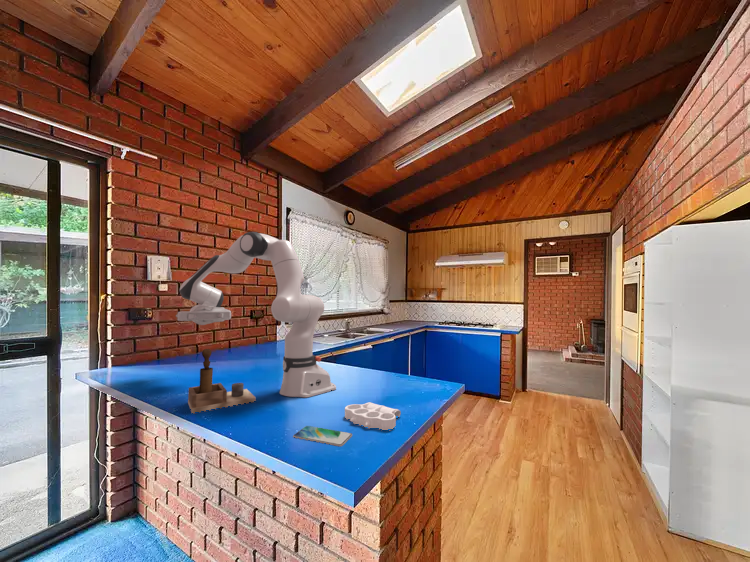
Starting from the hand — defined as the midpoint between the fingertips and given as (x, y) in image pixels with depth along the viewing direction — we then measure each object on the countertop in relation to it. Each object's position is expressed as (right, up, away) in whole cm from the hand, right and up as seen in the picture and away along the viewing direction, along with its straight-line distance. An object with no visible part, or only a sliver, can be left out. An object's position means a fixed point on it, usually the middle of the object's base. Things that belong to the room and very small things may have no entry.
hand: (207, 316), depth 127 cm
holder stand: (+13, -29, -15) cm, 36 cm away
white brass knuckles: (+68, -29, -31) cm, 80 cm away
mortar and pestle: (+9, -28, -18) cm, 34 cm away
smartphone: (+54, -29, -42) cm, 75 cm away
